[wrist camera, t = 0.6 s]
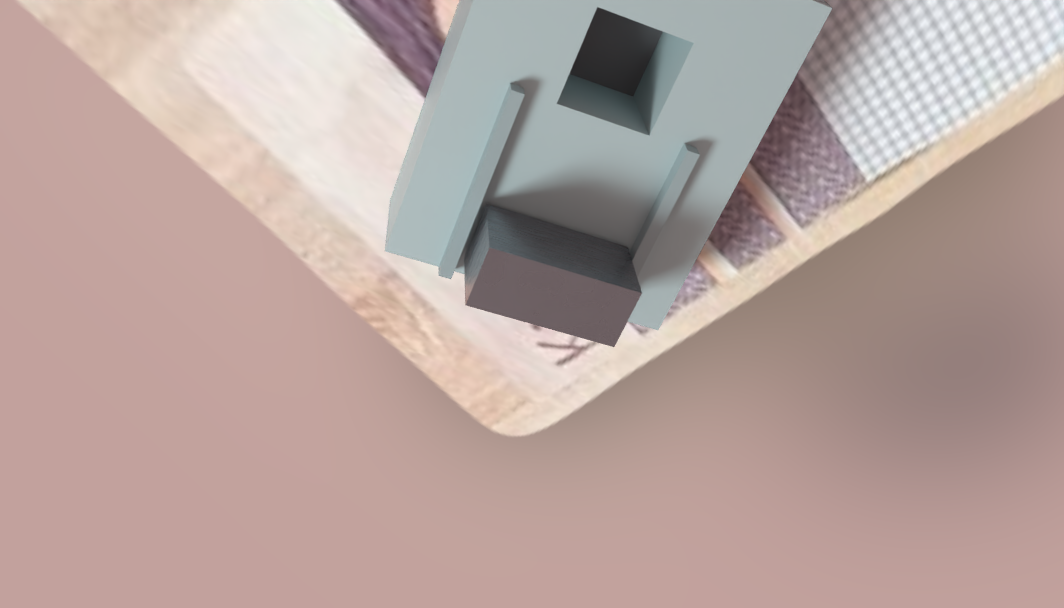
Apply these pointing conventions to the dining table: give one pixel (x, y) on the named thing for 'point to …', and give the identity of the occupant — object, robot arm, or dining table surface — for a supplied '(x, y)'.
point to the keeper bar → (550, 276)
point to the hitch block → (598, 124)
